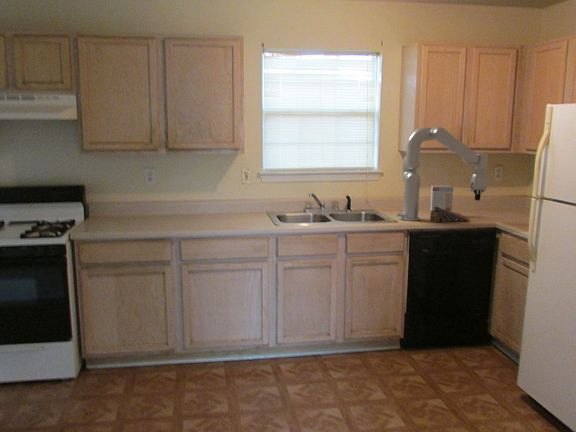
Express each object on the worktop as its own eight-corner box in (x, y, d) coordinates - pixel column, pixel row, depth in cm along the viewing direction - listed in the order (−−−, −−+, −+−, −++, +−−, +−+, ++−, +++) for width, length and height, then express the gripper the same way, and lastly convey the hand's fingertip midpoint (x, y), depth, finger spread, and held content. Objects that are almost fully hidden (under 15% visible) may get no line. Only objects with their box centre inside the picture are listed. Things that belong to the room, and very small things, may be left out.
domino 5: (468, 221, 335) (457, 215, 333) (464, 220, 340) (452, 214, 337) (470, 219, 335) (458, 213, 332) (465, 217, 340) (453, 211, 337)
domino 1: (442, 222, 331) (437, 208, 328) (438, 221, 336) (433, 207, 333) (444, 221, 331) (439, 207, 329) (440, 219, 336) (435, 206, 333)
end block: (435, 222, 329) (436, 212, 327) (430, 221, 335) (430, 210, 334) (439, 222, 329) (439, 212, 328) (433, 220, 336) (434, 210, 335)
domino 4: (462, 221, 334) (450, 214, 331) (458, 220, 339) (446, 213, 336) (463, 219, 334) (452, 212, 331) (459, 218, 339) (448, 211, 336)
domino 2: (449, 222, 332) (441, 210, 329) (445, 220, 337) (437, 209, 334) (451, 220, 332) (442, 209, 329) (446, 219, 337) (438, 208, 334)
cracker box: (450, 215, 360) (451, 185, 356) (451, 216, 354) (453, 186, 350) (429, 214, 361) (431, 185, 357) (431, 215, 355) (432, 185, 351)
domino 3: (455, 221, 333) (445, 212, 330) (451, 220, 338) (441, 211, 335) (456, 220, 333) (446, 210, 330) (452, 218, 338) (442, 209, 335)
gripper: (486, 172, 339) (483, 199, 343) (466, 171, 336) (463, 199, 339) (493, 173, 332) (490, 201, 335) (473, 172, 329) (470, 201, 332)
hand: (477, 200), depth 337 cm, fingers closed
